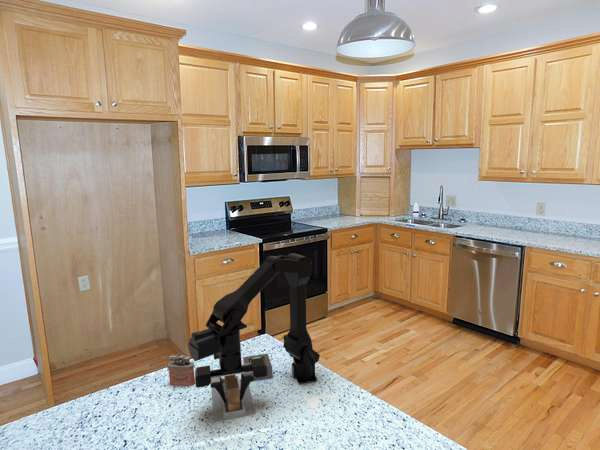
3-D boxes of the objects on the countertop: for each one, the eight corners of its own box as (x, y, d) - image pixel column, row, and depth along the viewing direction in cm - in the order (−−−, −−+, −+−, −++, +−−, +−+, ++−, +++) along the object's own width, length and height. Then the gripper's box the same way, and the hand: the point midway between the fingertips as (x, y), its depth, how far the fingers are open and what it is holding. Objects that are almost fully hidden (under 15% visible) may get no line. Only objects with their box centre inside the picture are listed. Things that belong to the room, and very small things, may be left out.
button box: (268, 367, 130) (267, 353, 129) (272, 380, 122) (271, 365, 121) (243, 371, 128) (243, 357, 127) (246, 384, 120) (245, 369, 119)
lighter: (197, 383, 121) (195, 353, 120) (193, 390, 118) (190, 359, 116) (172, 382, 122) (169, 353, 121) (167, 389, 119) (164, 358, 117)
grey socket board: (247, 381, 122) (247, 373, 122) (255, 417, 105) (255, 409, 104) (211, 387, 119) (210, 379, 119) (213, 425, 102) (213, 416, 102)
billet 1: (234, 382, 119) (233, 360, 118) (236, 392, 115) (235, 368, 113) (224, 384, 119) (223, 361, 117) (226, 394, 114) (224, 370, 113)
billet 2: (238, 402, 110) (236, 377, 109) (240, 413, 105) (238, 387, 104) (227, 404, 109) (225, 379, 108) (228, 415, 104) (227, 389, 103)
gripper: (260, 329, 114) (262, 379, 117) (193, 338, 109) (197, 389, 112) (266, 347, 103) (269, 401, 106) (193, 358, 99) (197, 413, 102)
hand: (233, 400), depth 107 cm, fingers open, 4 cm apart
